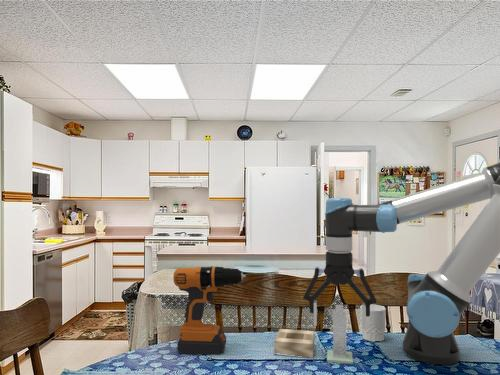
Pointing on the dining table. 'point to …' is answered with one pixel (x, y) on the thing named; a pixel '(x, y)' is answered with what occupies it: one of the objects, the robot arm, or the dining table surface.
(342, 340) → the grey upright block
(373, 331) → the white cup
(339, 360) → the mat
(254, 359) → the dining table surface
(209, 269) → the power drill
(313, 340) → the socket block
